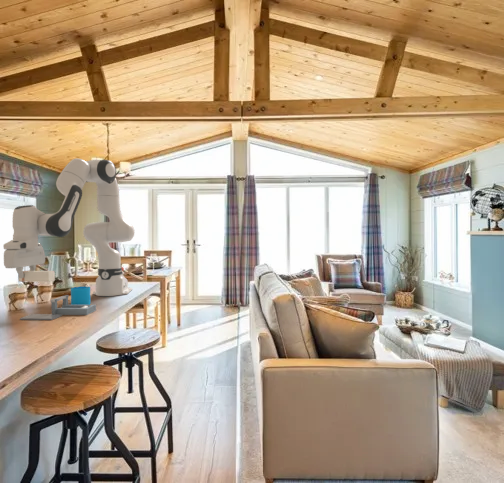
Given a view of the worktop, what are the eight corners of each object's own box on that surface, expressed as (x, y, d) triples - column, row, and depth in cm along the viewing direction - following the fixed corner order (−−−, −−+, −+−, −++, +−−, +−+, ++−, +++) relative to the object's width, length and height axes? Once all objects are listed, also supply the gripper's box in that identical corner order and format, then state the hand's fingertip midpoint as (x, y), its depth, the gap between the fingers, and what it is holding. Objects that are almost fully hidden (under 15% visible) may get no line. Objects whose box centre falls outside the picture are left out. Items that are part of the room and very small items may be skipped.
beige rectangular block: (18, 281, 146) (18, 271, 146) (25, 280, 150) (25, 270, 150) (48, 281, 146) (48, 271, 145) (54, 280, 150) (54, 270, 150)
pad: (31, 315, 146) (31, 313, 146) (62, 315, 145) (62, 314, 145) (19, 319, 139) (19, 318, 139) (52, 320, 138) (51, 318, 138)
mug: (86, 307, 161) (86, 289, 161) (68, 307, 161) (67, 289, 160) (96, 301, 173) (96, 284, 173) (79, 301, 173) (78, 285, 172)
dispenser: (50, 315, 146) (50, 300, 146) (65, 309, 156) (65, 295, 156) (85, 315, 145) (84, 300, 145) (97, 309, 156) (97, 295, 155)
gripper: (35, 243, 158) (35, 273, 159) (-1, 245, 138) (0, 280, 138) (48, 243, 158) (49, 274, 158) (15, 245, 138) (16, 280, 138)
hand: (26, 277), depth 148 cm, fingers closed on beige rectangular block, 4 cm apart
